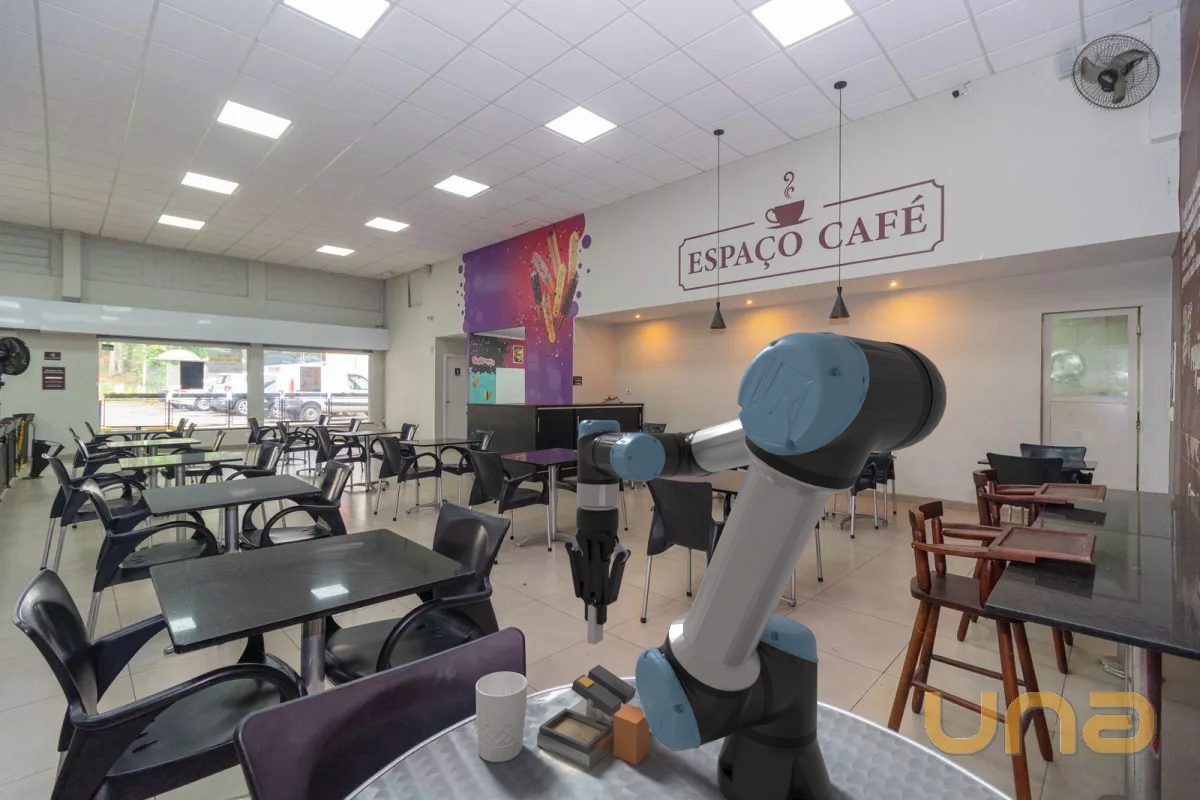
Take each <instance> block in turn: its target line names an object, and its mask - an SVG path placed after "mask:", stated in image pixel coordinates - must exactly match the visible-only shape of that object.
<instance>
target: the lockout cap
mask: <svg viewBox="0 0 1200 800" xmlns="http://www.w3.org/2000/svg"><path fill="white" fill-rule="evenodd" d="M625 705H626V706H624V707H623V708H622V709H621V710H620V711H618V712H617V713H616V714H615V715H614V747H613V748H612V750H613V754H612V755H613V756H614V757H616V758H619V759H622V760H624V761H626V762H628V763H631V764H633V765H635V766H637V765H638V763H640V762H641V761H642V760H643V759H644V757H646V756H647V754H649V753H650V727H649V725H648V723H647V721H646V718H645V716H644V714H643V711H642V708H641V707H637V706H634V705H632V704H629V703H627V704H625Z"/></svg>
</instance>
